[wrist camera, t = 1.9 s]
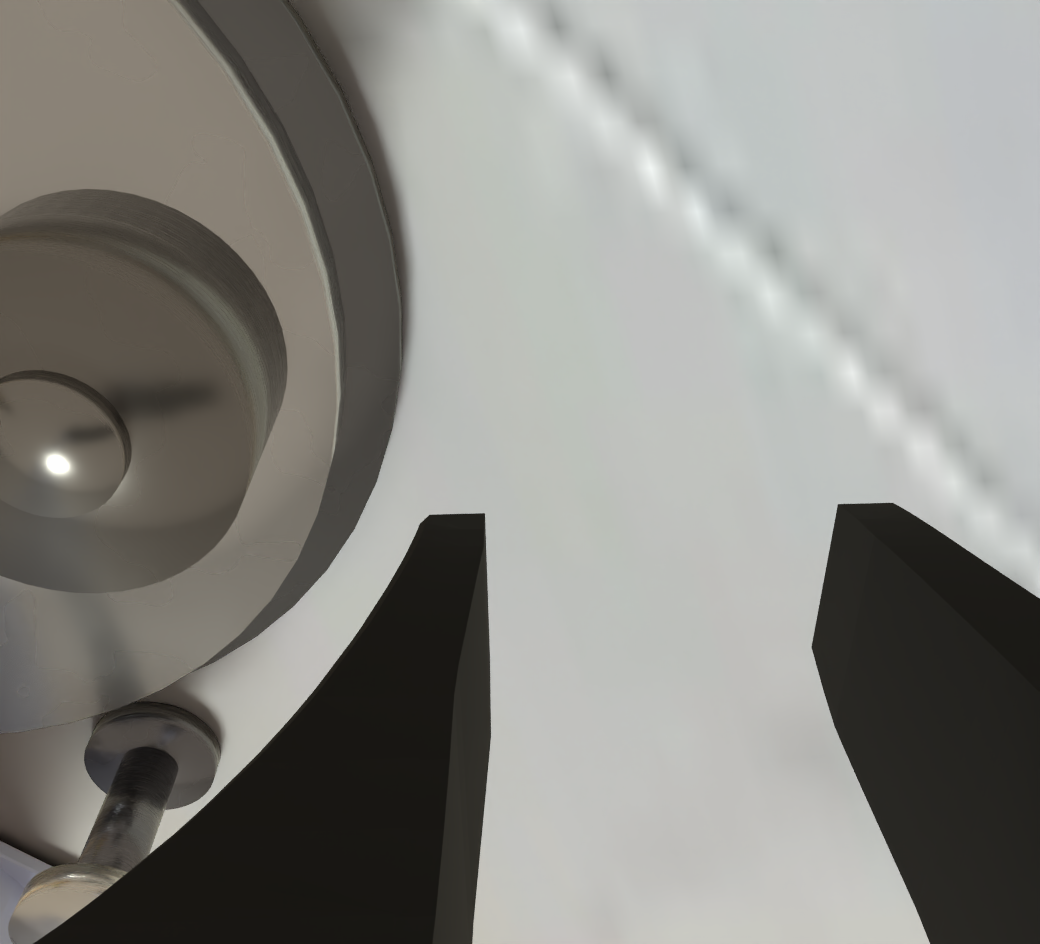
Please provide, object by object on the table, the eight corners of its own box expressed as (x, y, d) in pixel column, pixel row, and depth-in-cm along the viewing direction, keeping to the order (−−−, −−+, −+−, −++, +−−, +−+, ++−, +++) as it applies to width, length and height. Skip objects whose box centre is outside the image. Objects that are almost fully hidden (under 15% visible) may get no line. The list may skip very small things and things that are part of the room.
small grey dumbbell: (173, 808, 26) (107, 1001, 21) (68, 751, 25) (-27, 942, 20) (245, 745, 25) (191, 934, 20) (138, 682, 24) (55, 867, 19)
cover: (168, 539, 19) (106, 665, 16) (-107, 356, 17) (-242, 459, 14) (352, 346, 17) (323, 446, 14) (67, 112, 15) (-44, 167, 12)
